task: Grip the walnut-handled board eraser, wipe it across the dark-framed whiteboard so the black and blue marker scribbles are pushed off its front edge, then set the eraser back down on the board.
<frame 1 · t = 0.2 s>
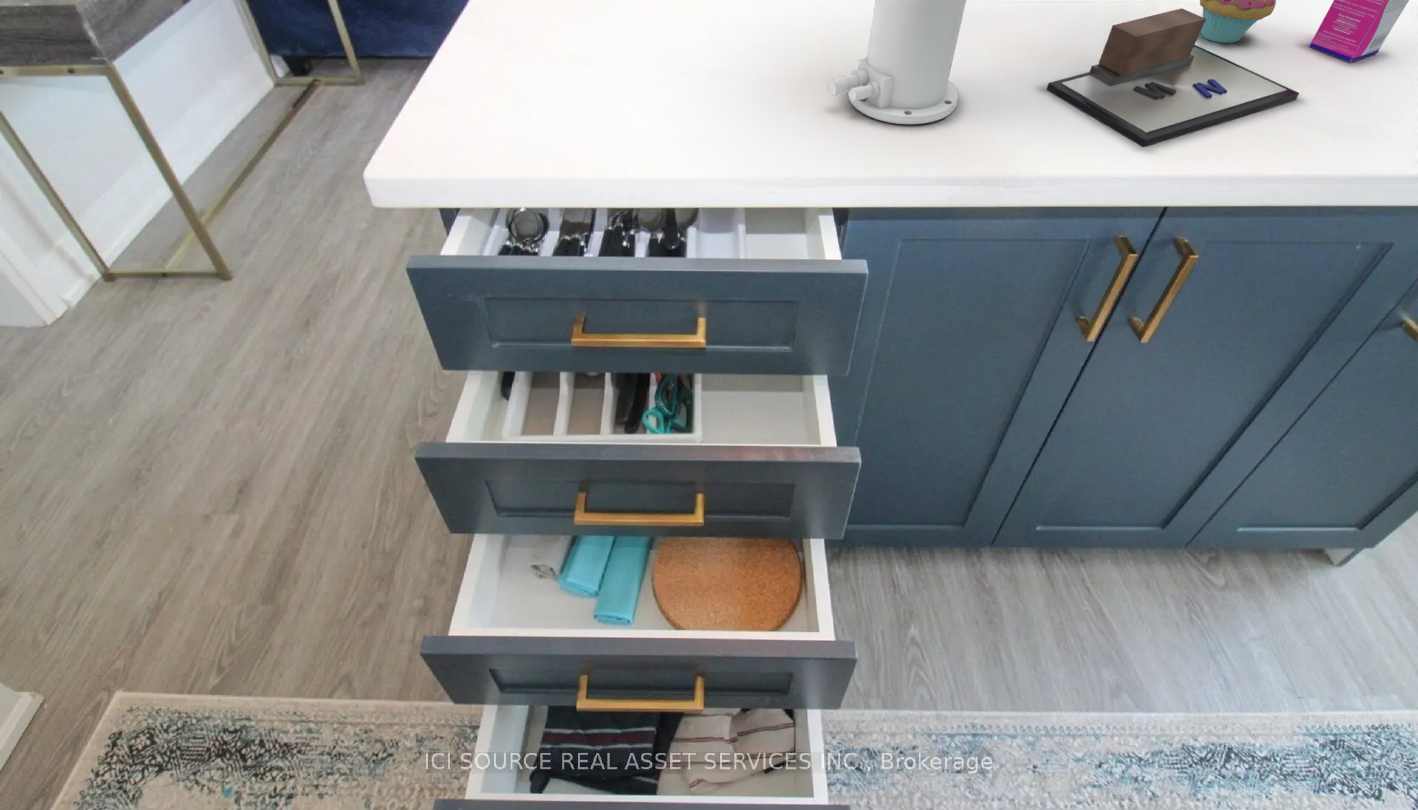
scribble a: (1154, 91, 87), point 1 cm above the counter, touching whiteboard
scribble b: (1209, 89, 88), point 1 cm above the counter, touching whiteboard
whiteboard: (1169, 94, 89), on the counter
cupcake: (1219, 37, 100), on the counter
eraser: (1140, 69, 91), point 1 cm above the counter, touching whiteboard
supplement box: (1340, 51, 97), on the counter
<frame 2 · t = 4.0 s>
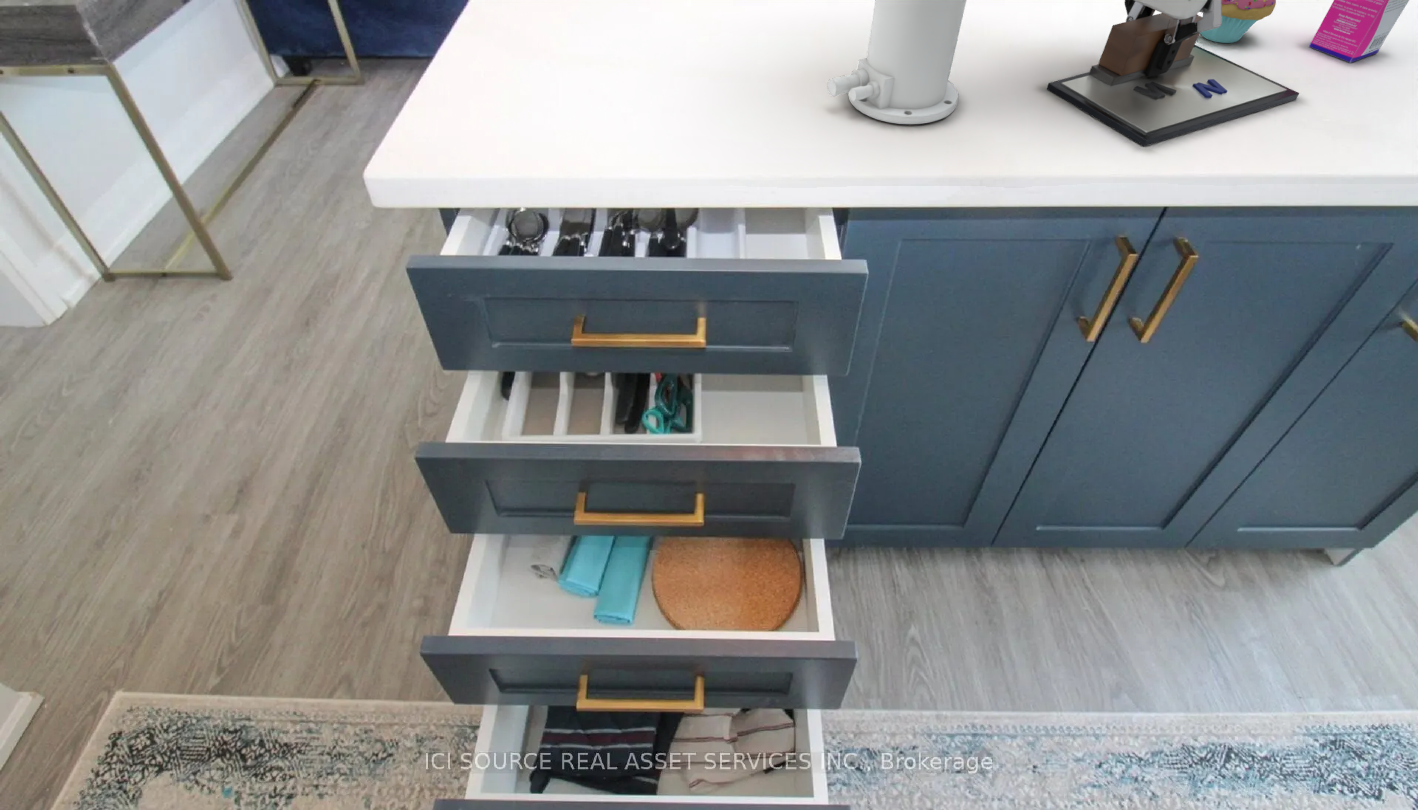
hand: (1141, 65, 91), 1 cm above the counter, tool pointing down, fingers closed on eraser, 3 cm apart
eraser: (1140, 69, 91), point 1 cm above the counter, touching gripper, whiteboard
everything else where it was.
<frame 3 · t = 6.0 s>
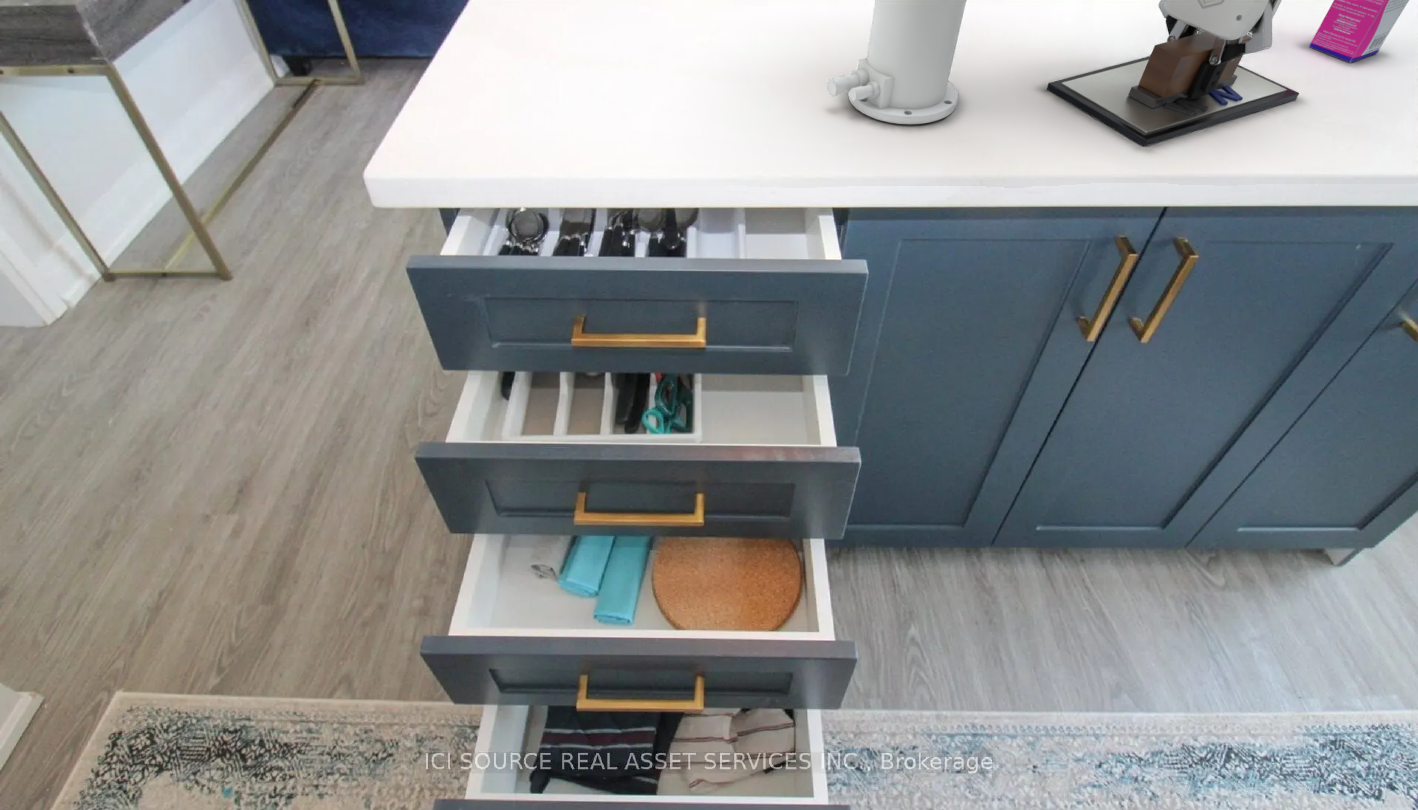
hand: (1183, 86, 87), 1 cm above the counter, tool pointing down, fingers closed on eraser, 3 cm apart
scribble a: (1185, 108, 85), point 1 cm above the counter, touching whiteboard
scribble b: (1224, 96, 86), point 1 cm above the counter, touching whiteboard
eraser: (1181, 89, 88), point 1 cm above the counter, touching gripper
everything else where it was.
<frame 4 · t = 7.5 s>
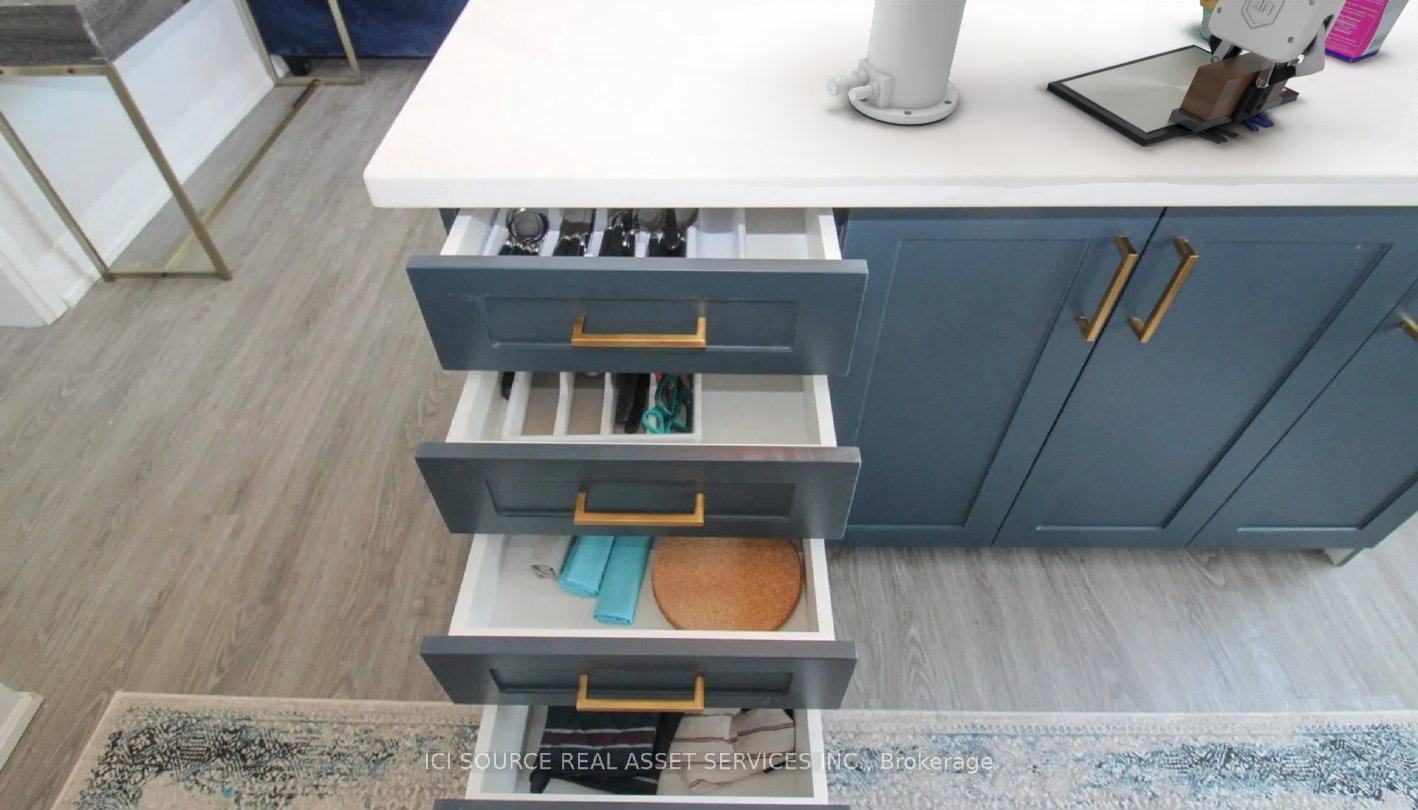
hand: (1226, 108, 84), 1 cm above the counter, tool pointing down, fingers closed on eraser, 3 cm apart
scribble a: (1215, 135, 83), on the counter
scribble b: (1254, 122, 84), on the counter
eraser: (1223, 112, 84), point 1 cm above the counter, touching gripper
everything else where it was.
when the fingers open (1 cm above the counter, at t = 13.1 s): eraser stays where it is, resting on whiteboard.
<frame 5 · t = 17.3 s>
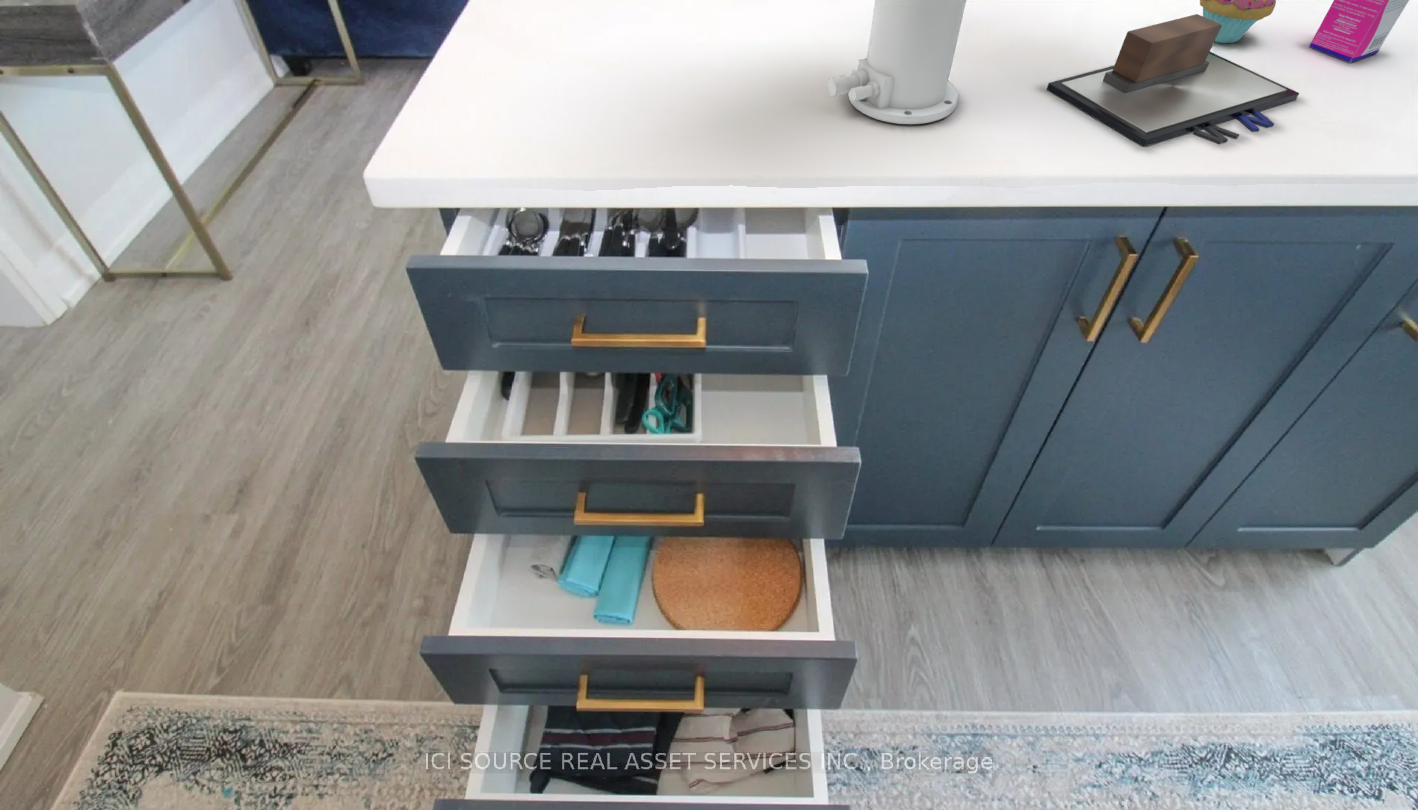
eraser: (1154, 75, 90), point 1 cm above the counter, touching whiteboard
everything else where it was.
at the end: scribble a inside the target area (11.4 cm from its centre), on the counter; scribble b inside the target area (11.0 cm from its centre), on the counter; eraser inside the target area on the whiteboard (2.9 cm from its centre), point 1.0 cm above the whiteboard's base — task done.
